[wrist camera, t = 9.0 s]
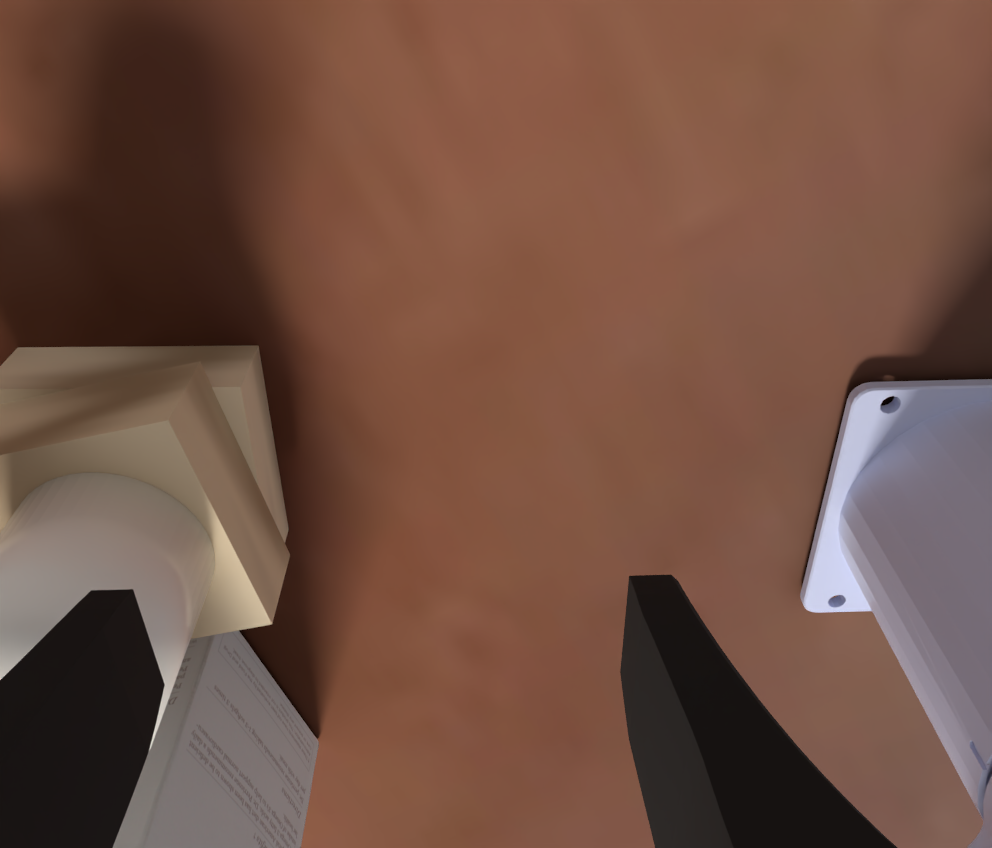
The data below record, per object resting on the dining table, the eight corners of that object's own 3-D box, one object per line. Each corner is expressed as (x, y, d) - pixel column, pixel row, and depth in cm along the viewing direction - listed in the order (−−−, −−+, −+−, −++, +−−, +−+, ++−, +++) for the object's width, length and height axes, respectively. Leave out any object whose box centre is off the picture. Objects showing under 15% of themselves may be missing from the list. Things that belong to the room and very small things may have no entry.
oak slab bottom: (262, 337, 22) (240, 386, 20) (291, 518, 26) (275, 577, 24) (25, 338, 22) (-22, 389, 20) (85, 521, 25) (50, 581, 23)
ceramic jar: (202, 475, 19) (131, 633, 15) (225, 622, 21) (171, 791, 17) (-11, 469, 18) (-136, 628, 15) (38, 619, 21) (-59, 788, 17)
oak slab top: (200, 361, 20) (168, 420, 18) (290, 554, 23) (272, 624, 21) (-41, 412, 20) (-100, 475, 18) (79, 594, 24) (41, 665, 22)
